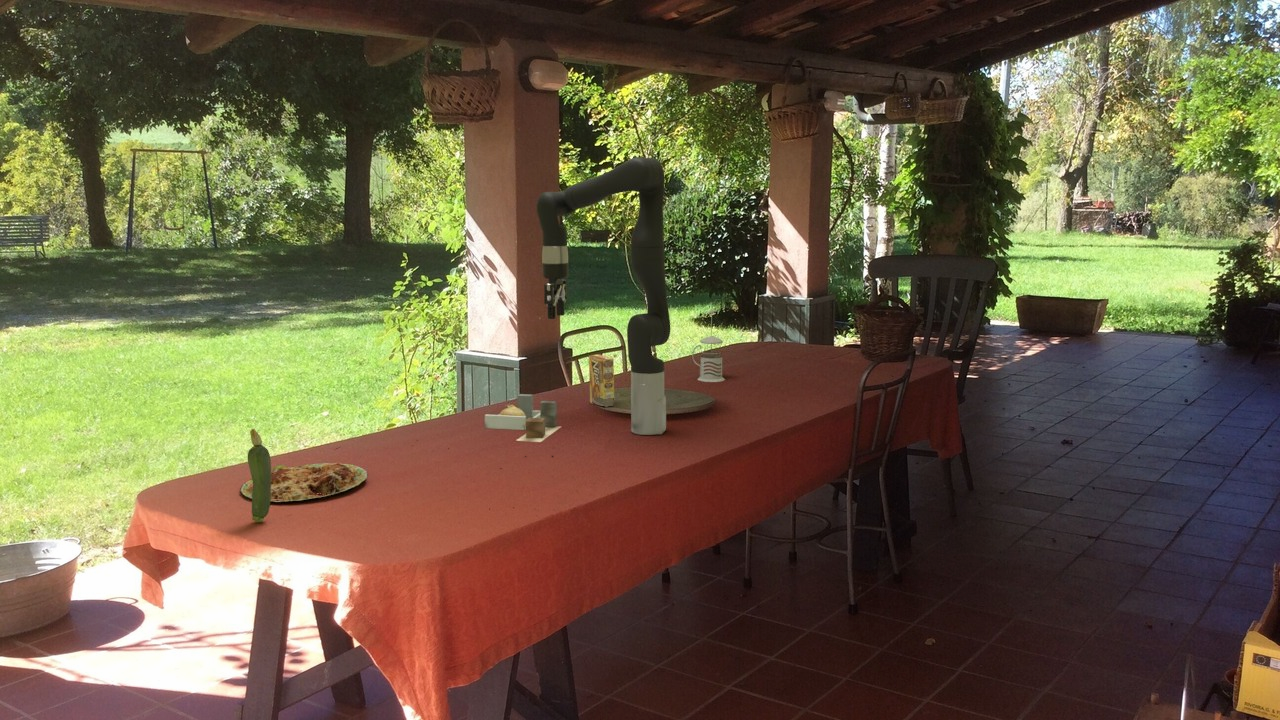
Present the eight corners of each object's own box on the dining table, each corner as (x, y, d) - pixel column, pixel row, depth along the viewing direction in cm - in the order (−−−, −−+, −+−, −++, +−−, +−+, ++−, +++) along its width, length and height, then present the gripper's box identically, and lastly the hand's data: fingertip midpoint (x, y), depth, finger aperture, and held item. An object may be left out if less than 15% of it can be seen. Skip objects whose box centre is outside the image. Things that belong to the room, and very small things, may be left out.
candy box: (615, 406, 318) (614, 357, 316) (603, 407, 316) (602, 359, 313) (600, 401, 325) (599, 354, 323) (588, 403, 323) (588, 355, 321)
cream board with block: (562, 430, 287) (561, 401, 286) (541, 446, 269) (540, 416, 268) (538, 428, 289) (537, 400, 287) (515, 445, 271) (515, 414, 269)
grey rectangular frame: (546, 418, 300) (545, 395, 299) (525, 433, 282) (524, 408, 281) (508, 416, 303) (507, 393, 302) (485, 431, 285) (484, 406, 284)
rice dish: (242, 517, 217) (240, 492, 215) (239, 477, 242) (237, 455, 240) (376, 501, 227) (375, 478, 226) (360, 465, 252) (359, 444, 251)
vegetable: (266, 517, 212) (260, 423, 209) (279, 521, 210) (273, 426, 206) (247, 523, 208) (240, 427, 205) (260, 527, 206) (253, 430, 203)
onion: (529, 426, 292) (529, 402, 291) (522, 433, 284) (521, 408, 283) (502, 425, 293) (502, 401, 292) (494, 432, 286) (493, 407, 284)
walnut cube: (545, 434, 278) (544, 417, 277) (542, 438, 273) (542, 421, 272) (528, 433, 278) (528, 417, 277) (526, 437, 273) (525, 421, 273)
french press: (726, 381, 357) (726, 311, 353) (692, 382, 357) (693, 311, 353) (724, 376, 367) (724, 307, 362) (691, 376, 367) (692, 307, 363)
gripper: (560, 263, 288) (561, 320, 290) (574, 260, 301) (575, 314, 304) (535, 263, 289) (536, 319, 292) (550, 259, 303) (551, 313, 306)
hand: (556, 317), depth 298 cm, fingers open, 8 cm apart
